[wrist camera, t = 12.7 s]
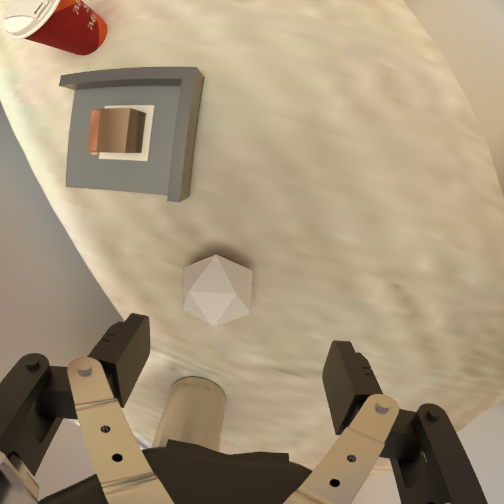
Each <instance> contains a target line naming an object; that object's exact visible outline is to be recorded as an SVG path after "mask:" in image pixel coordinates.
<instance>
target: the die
mask: <svg viewBox="0 0 504 504" xmlns="http://www.w3.org/2000/svg"><path fill="white" fill-rule="evenodd" d="M252 275H253V270H250V269H248V268H246V267H244V266H241V265H239V264H237V263H234V262H232V261H230V260H228V259H225V258H223V257H221V256H218V255H213V256H211V257H208V258H206V259H203V260H201V261H198V262H196V263H193V264H191V265H188V266H186V267H184V285H183V309H184V310H185V311H187V312H188V313H190V314H191V315H193V316H195V317H196V318H198V319H199V320H201V321H203V322H204V323H206V324H207V325H209V326H211V327H212V328H214V327H217V326H220V325H222V324H225V323H227V322H230V321H232V320H235V319H237V318H240V317H242V316H245V315H247V314H250V313H251V297H252Z"/></svg>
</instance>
